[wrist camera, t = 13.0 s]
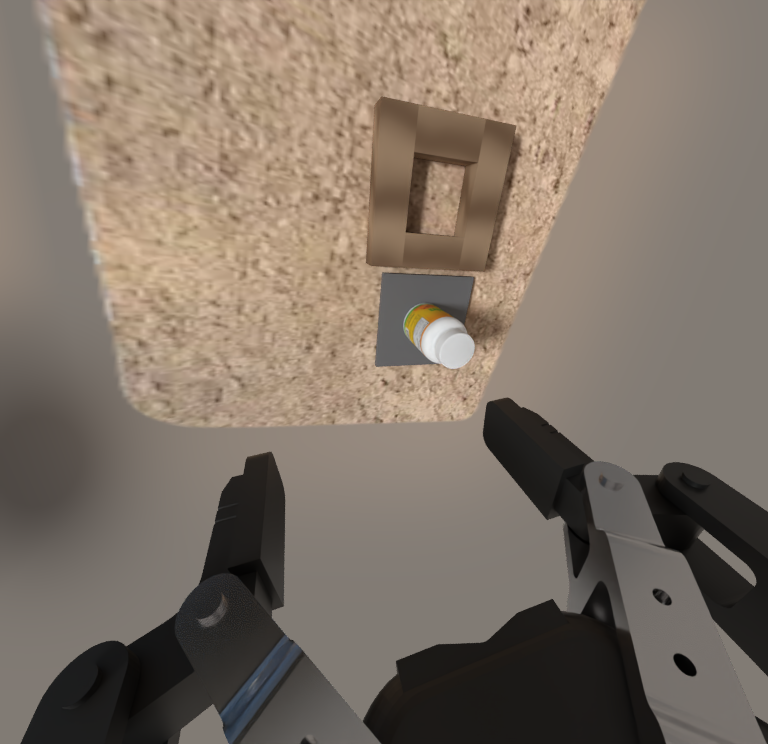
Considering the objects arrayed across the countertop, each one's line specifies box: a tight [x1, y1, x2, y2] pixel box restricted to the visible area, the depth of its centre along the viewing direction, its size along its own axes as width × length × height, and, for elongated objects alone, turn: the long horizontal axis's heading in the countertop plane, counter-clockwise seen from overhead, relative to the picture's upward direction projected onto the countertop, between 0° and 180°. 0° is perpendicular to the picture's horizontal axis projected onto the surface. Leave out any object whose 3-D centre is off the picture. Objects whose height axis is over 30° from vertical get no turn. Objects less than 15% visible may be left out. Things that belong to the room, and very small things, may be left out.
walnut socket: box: [366, 97, 516, 272], centre depth 32 cm, size 14×14×2 cm
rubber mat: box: [375, 273, 474, 367], centre depth 39 cm, size 12×12×1 cm
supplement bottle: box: [403, 303, 475, 369], centre depth 35 cm, size 5×5×10 cm
